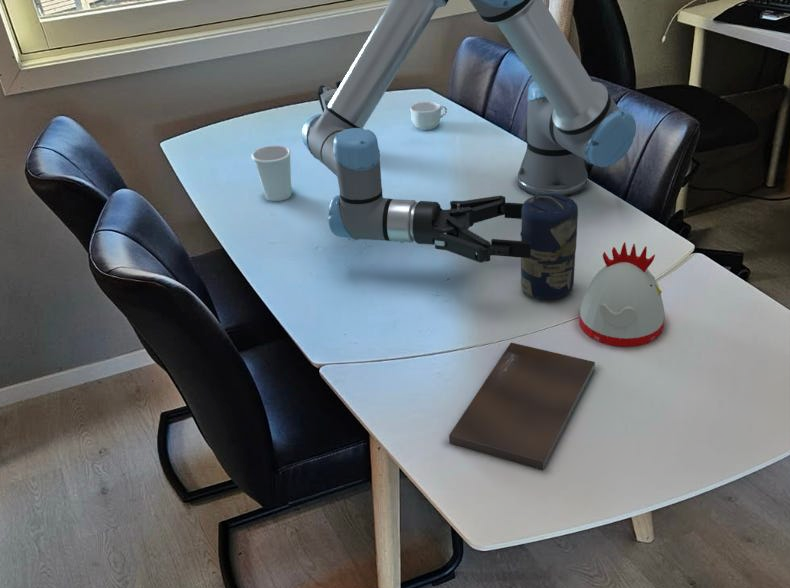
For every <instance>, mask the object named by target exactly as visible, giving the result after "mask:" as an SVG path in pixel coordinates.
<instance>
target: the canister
mask: <svg viewBox="0 0 790 588" xmlns="http://www.w3.org/2000/svg"><path fill="white" fill-rule="evenodd" d="M522 204H523V206H522V219H521V230H520V232H519V233H520V241H527V242H531V255H530V258H520V286H521V288H522V290H523V291H524V293H526V294H527V295H529V296H530V297H533V298H536V299H540V300H556V299H560V298H562V297H565V296H566V295H568V294H569V293H570V292H571V291H572V289H573V288H574V283H575V270H576V269H575V268H576V251H577V237H578V219H579V208H578V207H579V206H578V204H577V202H576V201H575V200H574V199H573V198H571V197H570V196H564V195H560V194H540V195H532V196H530V197H528V198H527V199H526V200H525V201H524V202H523V203H522Z"/></svg>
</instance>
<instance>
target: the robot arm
mask: <svg viewBox="0 0 790 588" xmlns="http://www.w3.org/2000/svg"><path fill="white" fill-rule="evenodd" d="M449 1H450V0H389V2H388V3H387V5H386V7H385V9H384V10H383V12H382V13H381V15H380V17H379V19H378V20H377V22H376V23H375V25H374V27H373V28H372V30H371V32H370V34H369V35H368V37H367V39H366V40H365V42H364V44H363V45H362V47H361V49H360V50H359V52H358V53H357V55H356V57H355V58H354V61H353V62H352V63H351V65H350V67H349V69H348V70H347V72H346V74H345V76H344V77H343V79H342V81H341V84H340V85H339V87H338V89H337V88H336V89H337V90H336V92H335V94H334V95H333V97H332V99H331V100H330V102H329V104H328V105H327V107H326V109H325V110H324V112H323V111H322V113H318V114H314V115H313V116H311V117H310V118H308V119H306V122H305V123H304V125H303V127H302V130H301V140H302V143H303V145H304V147H305V148H306V149H307V150H308V151H309V153H310V154H311V155H312V156H313V157H314V158H315V159H316V160H318V161H319V162H320V163H321V164H323V165H324V166H325V167H326V168H327V169H328V170H329V171H330V172H332V173H333V174H334V175H335V176H336V177H337V183H338V189H339V195H335V196H334V197H332V199H331V201H330V202H329V207H328V219H327V221H328V225H329V230H330V231H331V233H332V234H333V235H334V236H336V237H338V238H346V239H352V240H356V241H358V240H368V241H384V242H385V241H386V242H397V243H399V244H404V243H408V244H412V243H414V242H415V243H416V244H418V245H431V246H434V249H436V250H439V251H440V250H442V251H447V252H450V253H452V254H454V255H457V256H460V257H464V258H466V259H469V260H472V261H473V262H477V263H480V264H481V263H485V262H490V261H491V256H493V257H494V256H496V257H508V258H509V257H510V258H520V259H521V258H530V255H531V242H527V241H521V240H515V239H513V240H512V239H500V238H492V239H491V240H490V241H489V240H487V239H485V238H483V236H482V237H481V236H480V235H478V234H477V233H475V232H473V231H471V230H469V229H470V228H472V227H473V226H474V224H476V223H480V222H483V221H487V220H491V219H494V218H498V217H502V216H504V219H516V220H517V219H519V220H522V206H523V204H524V203H522V202H521V203H519V202H506V196H503V195H493V196H487V197H481V198H473V199H466V200H451V201H450V202H449V206H450V208H449V209H443V208H442V207H441V204H440V203H439V202H438V201H431V200H419V201H418V202H417V201H416V200H415V199H401V198H387V197H384V195H383V184H382V173H381V171H382V170H381V151H380V148H379V143H378V137H377V135H376V134H375V133H374V131H372V130H370V129H364V127H365V126H366V124H367V122H368V120H369V119H370V117H371V116H372V114H373V112H375V109H376V108H377V107H378V105H379V103H380V102H381V100H382V98H383V97H384V95H385V94H386V92H387V90H388V89H389V87H390V85H391V83H392V82H393V81H394V79H395V77H396V75H397V74H398V72H399V70H400V69H401V67H403V64H404V62H405V61H406V59H407V57H408V56H409V54H410V53H411V51H412V50H413V48H414V46H416V45H415V44H416V43H417V41H418V40H419V38H420V36H421V35H422V34H423V32H424V31H425V29H426V27H427V25H428V24H429V22H430V21H431V19H432V17H433V16H434V14H435V13H436V11H437V9H438V8H443V7H446V6H447V4H448V3H449ZM469 2H470V3H471V5H472V6H473V8H474V9H475V11H476V12H477V14H478V15H479V17H480V18H481V19H482V21H483V22H484V23H487V24H489V25H497V27H498V28H499V30H500V31H501V33H502V34H503V36H504V37H505V39H506V40H507V42H508V43H509V44H510V46H511V47H512V49H513V50H514V52H515V54H516V55H517V56H518V58H519V59H520V61H521V63H522V64H523V65H524V67H525V68H526V70H527V71H528V73H529V74H530V75H531V77H532V79H533V81H532V82H531V83H530V84H529V86H528V89H527V98H526V102H527V118H526V122H527V123H526V124H527V125H526V151H525V153H524V156H523V159H522V162H521V163H520V168H519V169H518V173H517V184H518V187H520V189H521V190H523V191H524V192H526V193H528V194H530V195H533V196H536V195H540V194H560V195H564V196H567V197H570V196H573V195H575V194H578V193H580V192H582V191H583V190H584V189H585V188H586V187H587V186H588V178H589V173H588V170H587V168H586V164H585V161H586V162H587V163H588V164H589V165H594V166H596V167H598V168H605V167H610V166H614V165H615V164H617V163H618V162H619V161H621V160H622V159H623V158H624V157H625V155H626V154H627V153H628V152H629V150H630V149H631V147H632V145H633V144H634V138H635V137H636V132H637V123H636V120H635V117H634V116H633V114H631V113H630V112H629V111H628V110H627V109H625V108H621V107H619V105H617V104H616V102H615V100H614V99H613V97H612V96H611V94H610V92H609V90H608V89H607V87H606V86H605V85H604V84H603V83H602V82H599V81H592V79H591V77H590V75H589V74H588V72H587V70H586V69H585V68H584V66H583V64H582V63H581V61H580V59H579V57H578V56H577V54H576V52H575V51H574V49H573V48H572V46H571V44H570V43H569V41H568V40H567V38H566V36H565V34H564V33H563V31H562V29H561V28H560V26H559V25H558V23H557V21H556V19H555V17H554V16H553V15H552V13H551V12H550V10H549V8H548V7H547V5H546V2H545V1H544V0H469Z"/></svg>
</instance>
